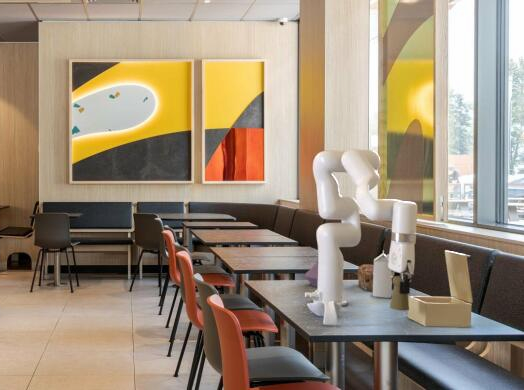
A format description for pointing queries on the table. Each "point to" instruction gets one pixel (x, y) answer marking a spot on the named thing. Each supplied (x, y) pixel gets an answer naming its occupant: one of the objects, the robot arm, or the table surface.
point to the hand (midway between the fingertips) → (400, 291)
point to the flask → (313, 275)
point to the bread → (366, 276)
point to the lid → (459, 275)
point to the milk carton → (382, 277)
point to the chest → (439, 311)
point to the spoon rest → (326, 311)
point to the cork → (399, 296)
